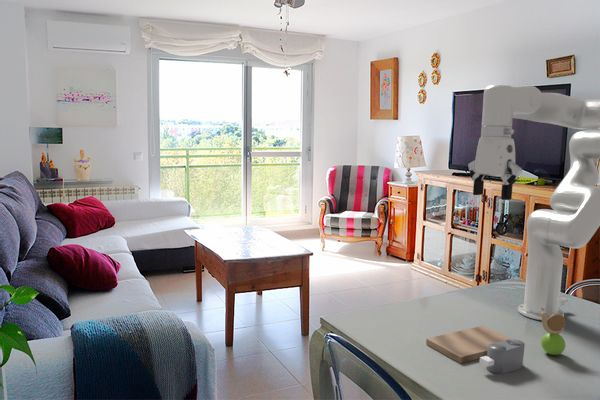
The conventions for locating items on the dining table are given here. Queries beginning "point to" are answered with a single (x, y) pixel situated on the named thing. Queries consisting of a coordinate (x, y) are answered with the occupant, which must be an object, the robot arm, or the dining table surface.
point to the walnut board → (466, 343)
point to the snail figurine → (553, 333)
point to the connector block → (504, 356)
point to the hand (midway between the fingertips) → (491, 197)
